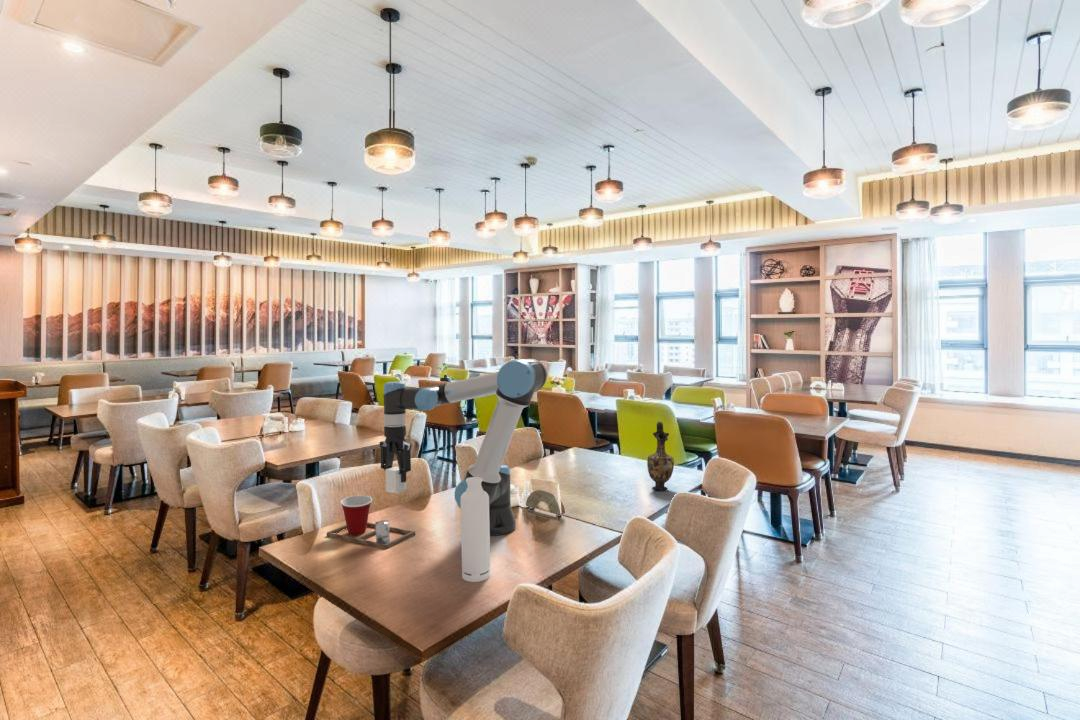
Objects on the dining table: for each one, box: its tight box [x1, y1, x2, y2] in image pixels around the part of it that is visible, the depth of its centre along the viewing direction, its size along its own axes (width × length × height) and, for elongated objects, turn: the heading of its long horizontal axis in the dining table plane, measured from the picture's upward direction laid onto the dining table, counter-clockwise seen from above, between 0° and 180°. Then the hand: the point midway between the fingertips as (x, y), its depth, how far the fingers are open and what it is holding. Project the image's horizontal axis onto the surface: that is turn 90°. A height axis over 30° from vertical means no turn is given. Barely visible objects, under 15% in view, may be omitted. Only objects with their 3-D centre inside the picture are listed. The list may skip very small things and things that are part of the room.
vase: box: [646, 421, 675, 492], centre depth 237 cm, size 12×12×30 cm
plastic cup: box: [340, 495, 373, 536], centre depth 188 cm, size 11×11×12 cm
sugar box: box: [384, 466, 407, 494], centre depth 188 cm, size 5×5×8 cm
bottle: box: [460, 477, 491, 583], centre depth 151 cm, size 8×8×28 cm
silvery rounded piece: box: [374, 519, 391, 544], centre depth 178 cm, size 4×4×7 cm
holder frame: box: [326, 521, 416, 550], centre depth 185 cm, size 28×14×1 cm, turn 63°
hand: (396, 489), depth 188 cm, fingers closed on sugar box, 5 cm apart
